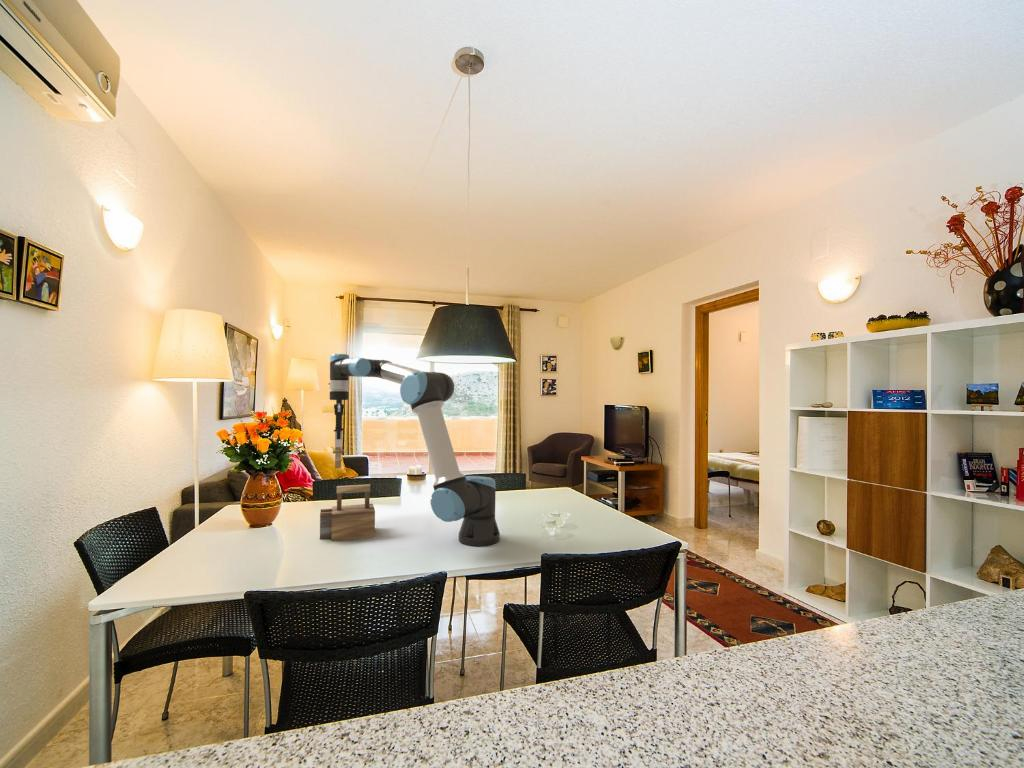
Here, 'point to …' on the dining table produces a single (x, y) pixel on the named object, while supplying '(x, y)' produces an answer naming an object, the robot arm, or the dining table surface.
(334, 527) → the toolbox
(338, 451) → the key peg
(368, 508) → the lid
